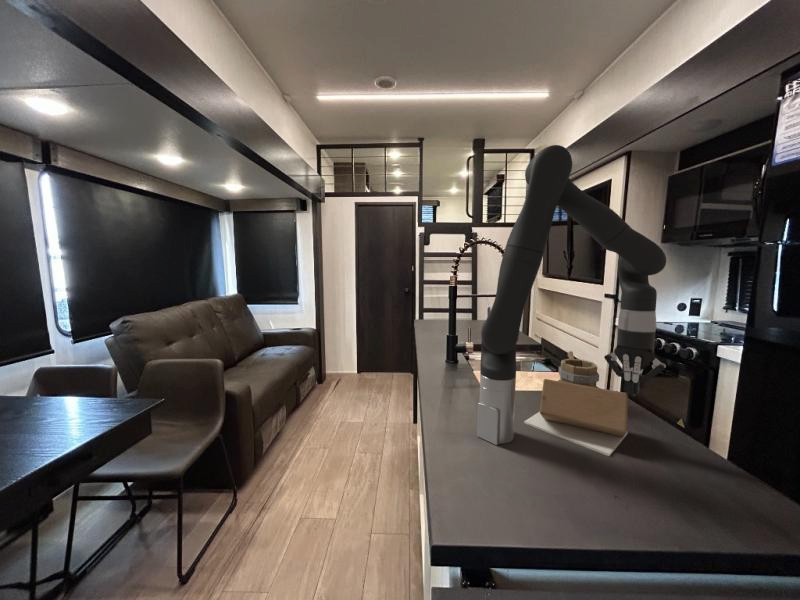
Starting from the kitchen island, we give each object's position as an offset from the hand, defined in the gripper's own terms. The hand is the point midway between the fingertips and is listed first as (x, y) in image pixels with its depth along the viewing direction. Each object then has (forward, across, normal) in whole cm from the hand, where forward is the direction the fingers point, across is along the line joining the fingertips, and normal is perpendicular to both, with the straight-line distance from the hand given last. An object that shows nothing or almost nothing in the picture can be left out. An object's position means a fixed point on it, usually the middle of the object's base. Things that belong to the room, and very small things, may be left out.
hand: (631, 395), depth 81 cm
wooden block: (+7, -1, +2) cm, 7 cm away
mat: (+14, -13, 0) cm, 19 cm away
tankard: (+14, -21, +22) cm, 34 cm away
